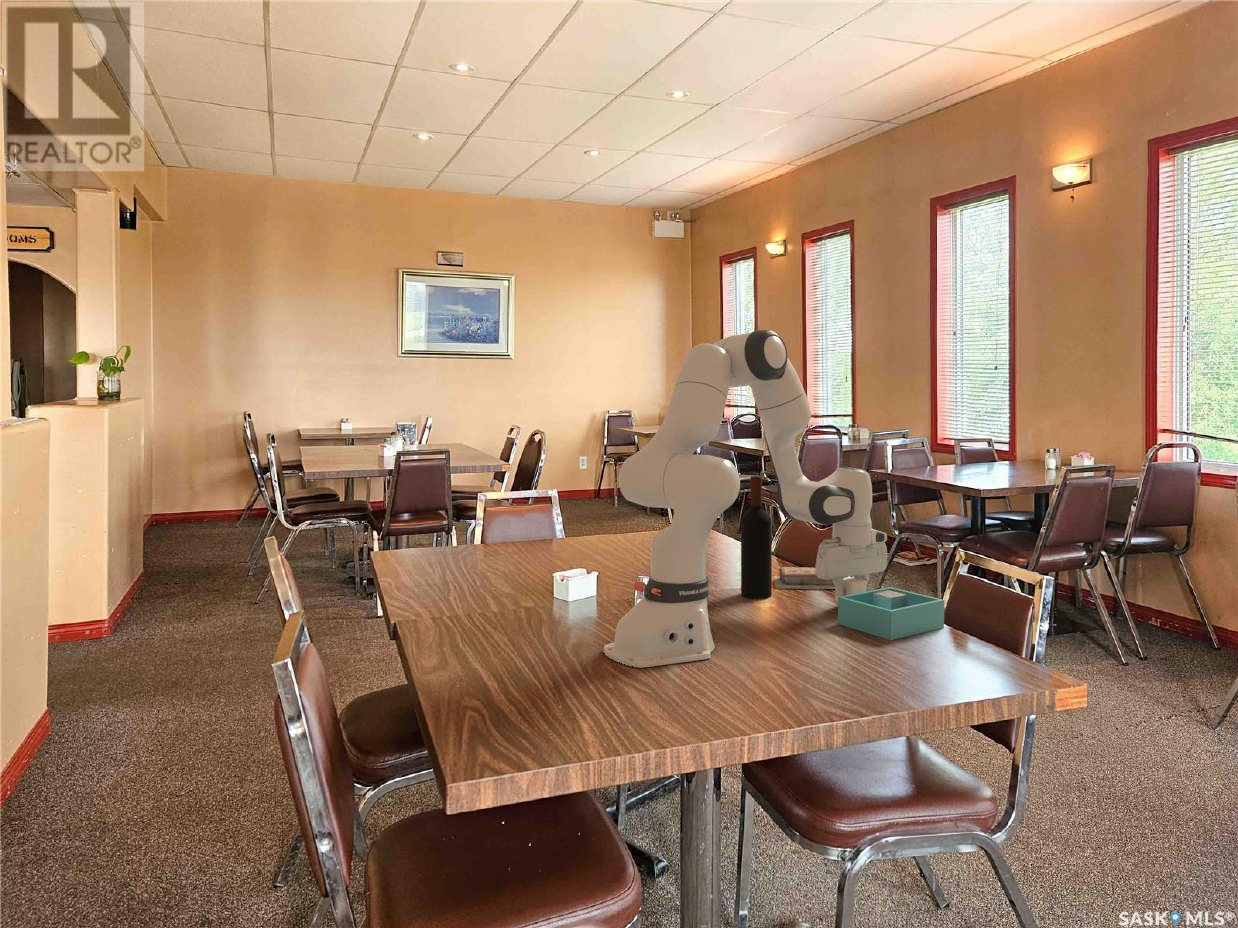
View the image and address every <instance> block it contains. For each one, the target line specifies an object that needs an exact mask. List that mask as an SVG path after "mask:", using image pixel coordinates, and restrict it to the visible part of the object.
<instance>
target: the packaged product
mask: <svg viewBox="0 0 1238 928" xmlns="http://www.w3.org/2000/svg"><path fill="white" fill-rule="evenodd" d="M815 568H816V567H807V566H805V567H799V566H783V567H782V566H780V567H779V569H778V571H779V575H774V576H773V581H774V587H775V589H777V590H778V589H779V590H790V589H791V590H819V589H835V585H834V583H833V581H832V579H831V580H825V579H820V578H818V577H817V575H816V573H815ZM843 578H846V577H843Z"/></svg>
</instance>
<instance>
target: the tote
mask: <svg viewBox="0 0 1238 928" xmlns="http://www.w3.org/2000/svg"><path fill="white" fill-rule="evenodd" d="M887 590H890V591H894V592H898V593H902V594H906V595H907V607H903V608H898V609H894V610H889V609H885V608H882V607H878V606H874V605H873V593H877V592H882V591H887ZM837 624H838V625H840V626H844V627H846V628H849V629H853V630H857V631H859V632H863V633H866V634H869V635H872V636H876V637H879V638H883V639H885V640H889V641H893V640H898V639H902V638H905V637H910V636H916V635H918V634H922V633H926V632H930V631H936V630H939V629H943V628H944V627H945V599H942V598H937V597H933V596H929V595H926V594H920V593H917V592H913V591H908V590H904V589H900V588H896V587H891V586H887V587H885V588H878V589H874V590H873V589H872V590H867V592H862V593H857V594H852V595H846V596H841V597H838V601H837Z"/></svg>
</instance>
